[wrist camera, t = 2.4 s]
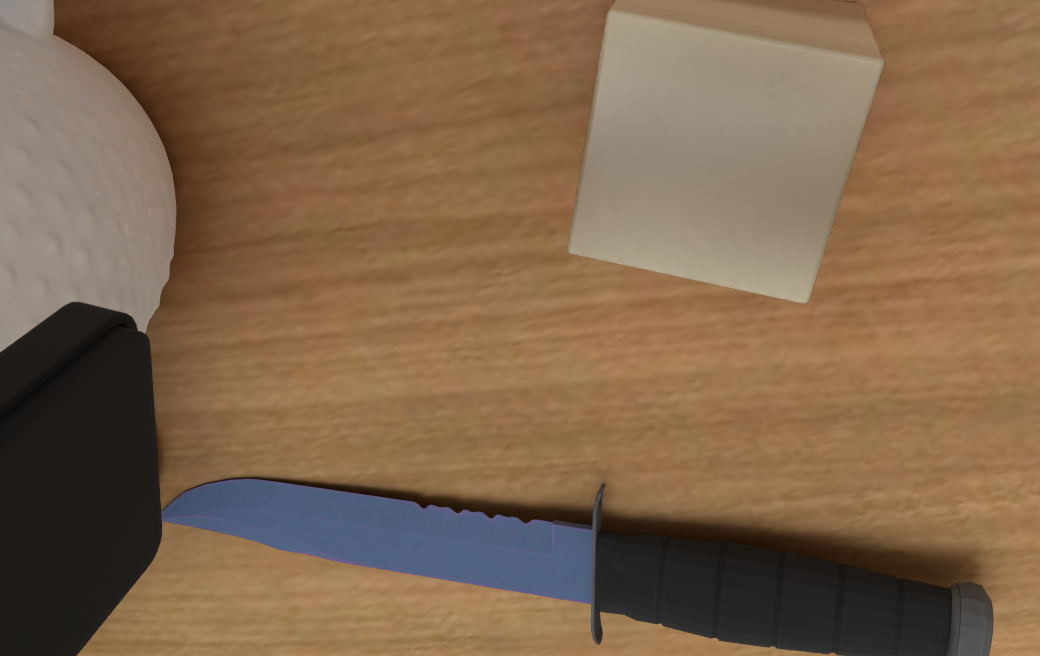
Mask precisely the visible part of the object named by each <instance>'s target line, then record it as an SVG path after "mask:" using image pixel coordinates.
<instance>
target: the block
mask: <svg viewBox="0 0 1040 656" xmlns="http://www.w3.org/2000/svg"><path fill="white" fill-rule="evenodd" d="M883 66H884V61H883V58H882V55H881V53H880V50H879V48H878V45H877V43H876V40H875V38H874V35H873V33H872V30H871V28H870V25H869V23H868V20H867V18H866V15H865V13H864V10H863V7H862V6H861V5H860V4H856V3H851V2H845V1H839V0H616V1H615V2H614V4H613V5H612V7H611V8H610V10H609V11H608V13H607V16H606V22H605V28H604V34H603V40H602V45H601V51H600V57H599V63H598V69H597V75H596V81H595V86H594V92H593V98H592V104H591V110H590V116H589V122H588V128H587V133H586V139H585V145H584V151H583V157H582V163H581V169H580V175H579V180H578V186H577V192H576V198H575V204H574V210H573V216H572V222H571V227H570V233H569V239H568V245H567V250H568V252H569V253H570V254H575V255H579V256H584V257H589V258H593V259H598V260H603V261H607V262H612V263H617V264H621V265H626V266H631V267H635V268H640V269H645V270H649V271H654V272H659V273H663V274H668V275H673V276H677V277H682V278H687V279H691V280H696V281H701V282H705V283H710V284H715V285H719V286H724V287H729V288H733V289H738V290H743V291H747V292H752V293H757V294H761V295H766V296H771V297H775V298H780V299H785V300H789V301H794V302H799V303H807V302H808V300H809V299H810V295H811V292H812V289H813V286H814V283H815V280H816V277H817V274H818V270H819V267H820V264H821V261H822V258H823V255H824V252H825V248H826V245H827V242H828V239H829V236H830V233H831V230H832V226H833V223H834V220H835V217H836V214H837V211H838V208H839V204H840V201H841V198H842V195H843V192H844V189H845V186H846V182H847V179H848V176H849V173H850V170H851V167H852V164H853V160H854V157H855V154H856V151H857V148H858V145H859V142H860V138H861V135H862V132H863V129H864V126H865V123H866V120H867V116H868V113H869V110H870V107H871V104H872V101H873V98H874V94H875V91H876V88H877V85H878V82H879V79H880V76H881V72H882V69H883Z"/></svg>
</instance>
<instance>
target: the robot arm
mask: <svg viewBox="0 0 1040 656" xmlns="http://www.w3.org/2000/svg"><path fill="white" fill-rule="evenodd" d="M161 537H162V517H161V502H160V487H159V472H158V457H157V441H156V426H155V411H154V396H153V380H152V365H151V350H150V343H149V339H148V337H147V335H146V334H145V333H143V332H141V331H138V329H137V324H136V322H135V320H134V319H133V317H132V316H130V315H129V314H127V313H123V312H119V311H115V310H111V309H107V308H103V307H99V306H95V305H91V304H87V303H83V302H71V303H69V304H66V305H64V306H63V307H61V308H60V309H59V310H57V311H56V312H55V313H53V314H52V315H51V316H49V317H48V318H46V319H45V320H44V321H42V322H41V323H40V324H38V325H37V326H35V327H34V328H33V329H31V330H30V331H29V332H27V333H26V334H25V335H23V336H22V337H20V338H19V339H18V340H16V341H15V342H14V343H12V344H11V345H9V346H8V347H7V348H5V349H4V350H3V351H1V352H0V656H77V655H78V653H79V652H80V651H81V650H82V648H83V647H84V646H85V645H86V643H87V642H88V641H89V640H90V638H91V637H92V636H93V635H94V633H95V632H96V631H97V630H98V629H99V627H100V626H101V625H102V624H103V622H104V621H105V620H106V619H107V617H108V616H109V615H110V614H111V612H112V611H113V610H114V609H115V607H116V606H117V605H118V604H119V602H120V601H121V600H122V599H123V598H124V596H125V595H126V594H127V593H128V591H129V590H130V589H131V588H132V586H133V585H134V584H135V583H136V581H137V580H138V579H139V578H140V576H141V575H142V574H143V573H144V572H145V570H146V569H147V568H148V567H149V565H150V564H151V562H152V561H153V559H154V557H155V555H156V553H157V551H158V548H159V545H160V542H161Z"/></svg>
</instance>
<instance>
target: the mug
mask: <svg viewBox="0 0 1040 656" xmlns="http://www.w3.org/2000/svg"><path fill="white" fill-rule="evenodd" d="M53 30H54V0H0V352H1V351H3V350H4V349H5V348H7V347H8V346H9V345H11V344H12V343H14V342H15V341H16V340H18V339H19V338H20V337H22V336H23V335H25V334H26V333H27V332H29V331H30V330H31V329H33V328H34V327H35V326H37V325H38V324H40V323H41V322H42V321H44V320H45V319H46V318H48V317H49V316H51V315H52V314H53V313H55V312H56V311H57V310H59V309H60V308H61V307H63V306H64V305H66V304H69V303H71V302H83V303H87V304H91V305H95V306H99V307H103V308H107V309H111V310H115V311H119V312H123V313H127V314H129V315H130V316H132V317H133V319H134V320H135V322H136V324H137V329H138V331H141V332H143V333H146V329H147V326H148V322H149V320H150V318H151V317H152V316H153V314H154V313H155V311H156V309H157V308H158V307H159V305H160V295H161V291H162V289H163V287H164V285H165V284H166V282H167V281H168V280H169V275H170V261H171V260H172V258H173V256H174V240H175V232H176V198H175V188H174V181H173V175H172V171H171V167H170V163H169V160H168V157H167V154H166V151H165V148H164V145H163V143H162V141H161V139H160V137H159V135H158V133H157V131H156V129H155V127H154V126H153V124H152V122H151V120H150V119H149V117H148V116H147V114H146V113H145V111H144V109H143V108H142V106H141V105H140V104H139V103H138V101H137V100H136V99H135V98H134V96H133V95H132V94H131V92H130V91H129V90H128V89H127V88H126V87H125V86H124V85H123V83H121V82H120V81H119V80H118V79H117V78H116V77H115V76H114V75H113V74H112V73H111V72H110V71H109V70H107V69H106V68H105V67H104V66H103V65H101V64H100V63H99V62H97V61H96V60H95V59H93V58H92V57H91V56H89V55H88V54H86V53H85V52H83V51H82V50H80V49H79V48H77V47H75V46H73V45H72V44H70V43H68V42H66V41H65V40H63V39H61V38H60V37H57V36H55V35H53Z"/></svg>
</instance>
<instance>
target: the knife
mask: <svg viewBox="0 0 1040 656" xmlns="http://www.w3.org/2000/svg"><path fill="white" fill-rule="evenodd" d="M605 485H606V484H602V486H601V487H600V489H599V491H598V494H597V497H596V500H595V504H594V508H593V526H592V525H585V524H578V523H571V522H564V521H557V520H554V521H553V522H548V521H542V520H535V519H534V520H532V521H530V522H529V523H526V524H525V523H523V522H522V521H521V520H519V519H518V518H516V517H504V516H502V515H496V516H495V517H494V518H489V517H487V516H486V515H485V514H484V513H482V512H470V511H468V510H463V511H462V512H460V513H458V514H457V513H455V512H454V511H453V510H452V509H450V508H448V507H437V506H434V505H429V506H428V507H426V508H422V507H420V506H419V505H418V504H417V503H416V502H411V501H404V500H397V499H391V498H384V497H377V496H370V495H363V494H356V493H349V492H343V491H336V490H329V489H322V488H315V487H308V486H301V485H295V484H288V483H281V482H274V481H266V480H257V479H239V480H227V481H221V482H215V483H210V484H205V485H202V486H200V487H197V488H194V489H192V490H189V491H186V492H184V493H183V494H182V495H180V496H179V497H178V498H176V499H175V500H174V501H173V502H172V503H170V504H169V505H168V506H167V507H166V508H165V509H164V510H163V511H162V512H161V517H162V521H166V522H171V523H175V524H181V525H186V526H191V527H196V528H201V529H206V530H211V531H215V532H220V533H224V534H229V535H234V536H238V537H241V538H245V539H248V540H252V541H255V542H259V543H262V544H265V545H268V546H271V547H274V548H276V549H279V550H284V551H290V552H296V553H302V554H308V555H313V556H317V557H321V558H325V559H329V560H333V561H337V562H342V563H348V564H354V565H360V566H366V567H372V568H378V569H384V570H390V571H396V572H402V573H408V574H414V575H419V576H425V577H431V578H437V579H443V580H449V581H455V582H461V583H467V584H473V585H479V586H485V587H491V588H497V589H503V590H509V591H515V592H521V593H527V594H533V595H539V596H545V597H551V598H557V599H563V600H569V601H575V602H581V603H587V604H591V632H592V637H593V640H594V642H595V643H596V644H600V643H601V640H602V635H603V631H602V626H601V619H600V611H601V612H606V613H614V614H622V615H626V616H628V617H630V618H632V619H635V620H637V621H642V622H648V623H654V624H658V623H660V624H662V625H663V626H665V627H669V628H673V629H677V630H680V631H684V632H688V633H692V634H696V635H700V636H704V637H708V638H718V639H719V641H725V642H732V643H739V644H747V645H754V646H761V647H771V646H775V647H776V648H777V649H786V650H795V651H805V652H814V653H823V654H829V653H836V654H837V655H845V656H989V653H990V648H991V642H992V635H993V608H992V602H991V600H990V597H989V596H988V594H987V593H986V591H985V590H984V588H983V587H982V586H981V585H977V584H974V583H970V582H966V583H956V584H954V585H952V586H951V587H950V588H949V589H948V588H945V587H940V586H936V585H931V584H927V583H922V582H918V581H913V580H909V579H904V578H901V579H898V578H895V576H893V575H889V574H885V573H881V572H877V571H872V570H868V569H864V568H860V567H855V566H851V565H847V564H844V565H839V564H837V562H833V561H828V560H823V559H819V558H814V557H809V556H804V555H799V554H795V553H790V552H785V553H781V552H779V551H778V550H774V549H768V548H763V547H757V546H751V545H746V544H740V543H735V542H728V543H723V542H722V541H709V540H698V539H689V538H679V537H670V538H665V537H663V536H656V535H648V534H637V535H625V534H620V533H615V532H610V531H602V498H603V490H604V488H605Z"/></svg>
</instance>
